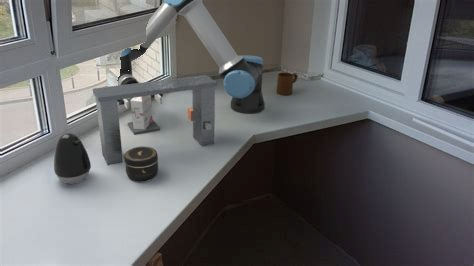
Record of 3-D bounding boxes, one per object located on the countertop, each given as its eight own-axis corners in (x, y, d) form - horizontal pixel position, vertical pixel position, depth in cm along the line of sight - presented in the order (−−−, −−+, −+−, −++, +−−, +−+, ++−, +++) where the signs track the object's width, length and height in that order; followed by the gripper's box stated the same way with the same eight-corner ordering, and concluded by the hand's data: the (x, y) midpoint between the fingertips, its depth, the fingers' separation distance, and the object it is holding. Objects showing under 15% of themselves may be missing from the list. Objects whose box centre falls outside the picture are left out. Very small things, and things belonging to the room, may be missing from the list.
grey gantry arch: (100, 154, 140) (92, 88, 130) (206, 134, 157) (206, 74, 147) (106, 166, 133) (98, 97, 123) (216, 144, 150) (216, 82, 140)
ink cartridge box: (141, 120, 165) (138, 85, 158) (153, 121, 164) (150, 86, 158) (132, 129, 157) (129, 92, 151) (145, 130, 156) (141, 93, 150)
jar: (129, 186, 123) (126, 163, 120) (123, 170, 131) (121, 148, 128) (162, 179, 127) (160, 157, 123) (154, 164, 135) (153, 143, 132)
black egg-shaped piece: (72, 192, 119) (64, 145, 112) (49, 181, 124) (40, 135, 117) (100, 177, 127) (94, 132, 120) (77, 167, 132) (70, 123, 125)
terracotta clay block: (187, 117, 156) (187, 107, 154) (197, 116, 157) (197, 106, 156) (204, 133, 143) (204, 123, 142) (214, 131, 145) (214, 121, 143)
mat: (127, 125, 163) (127, 122, 162) (152, 120, 167) (152, 118, 167) (134, 134, 155) (134, 132, 154) (160, 130, 159) (160, 127, 159)
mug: (290, 88, 210) (291, 70, 206) (301, 92, 205) (303, 73, 201) (273, 92, 203) (274, 74, 199) (284, 96, 198) (285, 78, 194)
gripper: (158, 90, 177) (175, 107, 160) (100, 98, 167) (112, 117, 149) (157, 73, 174) (175, 89, 157) (98, 80, 163) (110, 97, 146)
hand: (144, 103), depth 153 cm, fingers open, 12 cm apart
